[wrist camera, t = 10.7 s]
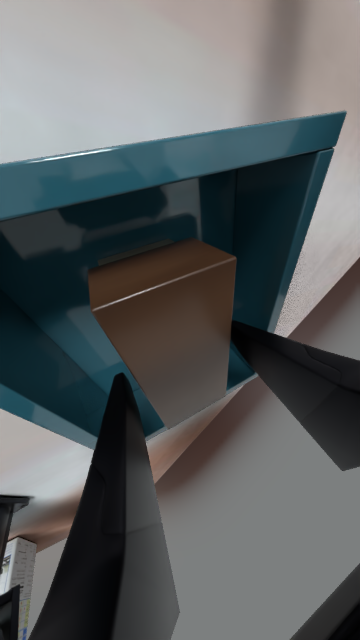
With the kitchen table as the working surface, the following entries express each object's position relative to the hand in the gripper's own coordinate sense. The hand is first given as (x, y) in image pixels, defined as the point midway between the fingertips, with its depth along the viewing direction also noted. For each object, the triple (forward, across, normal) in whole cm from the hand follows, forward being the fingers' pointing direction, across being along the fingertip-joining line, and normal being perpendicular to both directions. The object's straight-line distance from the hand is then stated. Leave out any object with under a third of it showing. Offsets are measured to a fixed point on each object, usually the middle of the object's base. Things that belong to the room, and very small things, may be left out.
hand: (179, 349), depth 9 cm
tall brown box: (+4, 0, 0) cm, 4 cm away
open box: (+4, 0, 0) cm, 4 cm away
